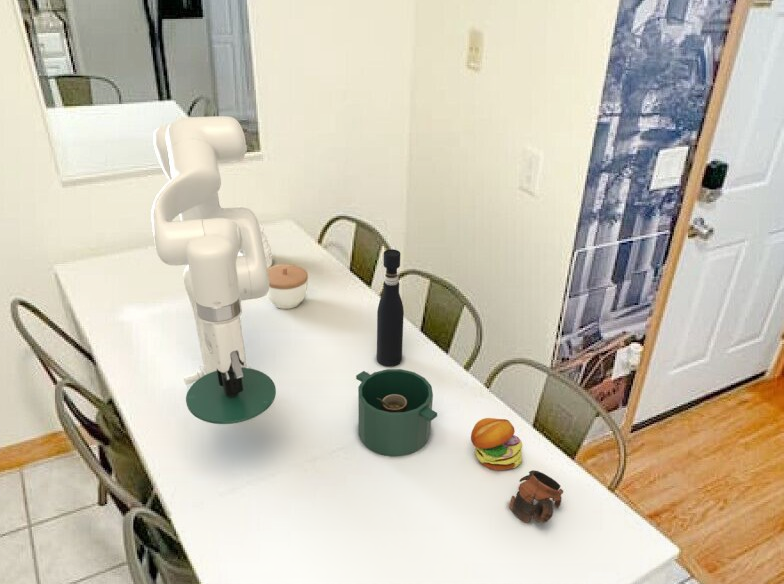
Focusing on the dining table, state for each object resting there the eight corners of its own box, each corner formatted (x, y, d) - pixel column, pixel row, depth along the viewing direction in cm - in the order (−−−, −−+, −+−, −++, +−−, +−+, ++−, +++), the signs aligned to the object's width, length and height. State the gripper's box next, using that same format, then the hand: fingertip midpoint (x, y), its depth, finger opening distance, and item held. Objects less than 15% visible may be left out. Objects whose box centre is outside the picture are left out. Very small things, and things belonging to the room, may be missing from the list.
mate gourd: (416, 433, 141) (418, 398, 135) (386, 445, 137) (387, 409, 131) (399, 415, 145) (400, 380, 140) (370, 426, 142) (370, 390, 136)
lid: (221, 439, 114) (217, 413, 111) (169, 398, 122) (163, 372, 119) (293, 397, 125) (292, 372, 122) (241, 361, 133) (237, 337, 130)
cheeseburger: (510, 482, 131) (505, 442, 126) (465, 470, 136) (458, 431, 132) (531, 453, 138) (527, 415, 133) (487, 443, 144) (482, 406, 139)
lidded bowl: (318, 300, 186) (316, 266, 180) (288, 318, 177) (285, 283, 171) (286, 287, 191) (283, 254, 185) (255, 304, 182) (251, 269, 176)
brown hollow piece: (499, 496, 128) (519, 461, 126) (538, 509, 131) (557, 476, 130) (520, 531, 117) (542, 494, 115) (561, 545, 120) (583, 509, 119)
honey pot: (223, 269, 198) (215, 214, 188) (240, 252, 209) (234, 199, 198) (263, 275, 197) (257, 219, 186) (278, 257, 207) (273, 204, 197)
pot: (406, 473, 131) (408, 431, 125) (335, 427, 142) (333, 386, 135) (453, 436, 141) (457, 395, 135) (383, 395, 152) (384, 355, 145)
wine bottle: (398, 368, 161) (402, 260, 144) (373, 364, 162) (374, 256, 145) (404, 354, 166) (408, 248, 149) (380, 350, 167) (382, 245, 150)
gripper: (181, 290, 115) (197, 372, 126) (214, 334, 105) (228, 419, 115) (222, 280, 119) (233, 360, 129) (258, 322, 108) (267, 405, 119)
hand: (231, 387), depth 122 cm, fingers closed on lid, 2 cm apart
